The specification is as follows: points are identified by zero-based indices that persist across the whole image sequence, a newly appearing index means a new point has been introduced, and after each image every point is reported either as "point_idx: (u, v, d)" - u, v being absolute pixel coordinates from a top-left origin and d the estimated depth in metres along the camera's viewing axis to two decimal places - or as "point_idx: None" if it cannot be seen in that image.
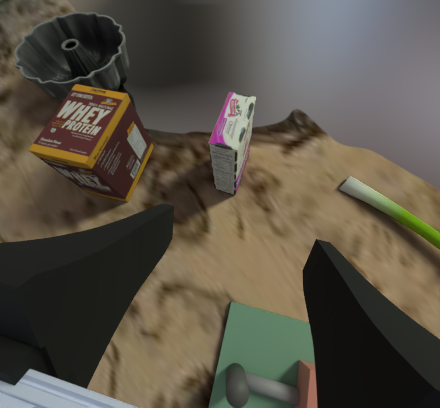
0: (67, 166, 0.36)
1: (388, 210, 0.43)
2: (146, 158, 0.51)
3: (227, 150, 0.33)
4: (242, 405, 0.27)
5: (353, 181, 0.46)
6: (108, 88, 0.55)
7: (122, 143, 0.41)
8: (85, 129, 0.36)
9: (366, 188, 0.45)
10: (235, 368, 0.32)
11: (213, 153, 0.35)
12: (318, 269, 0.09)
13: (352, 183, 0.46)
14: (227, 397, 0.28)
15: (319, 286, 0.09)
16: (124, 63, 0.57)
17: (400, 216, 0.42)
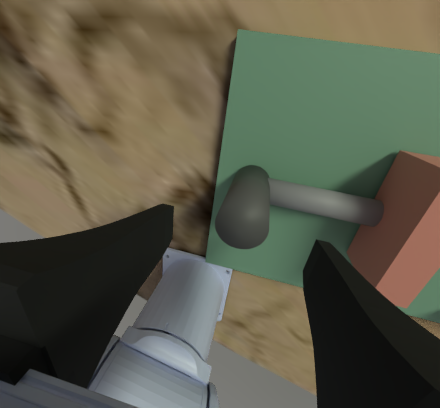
0: None
1: None
2: None
3: None
4: (253, 245, 0.12)
5: None
6: None
7: None
8: None
9: None
10: (246, 176, 0.15)
11: None
12: (318, 269, 0.09)
13: None
14: (219, 233, 0.13)
15: (319, 286, 0.09)
16: None
17: None
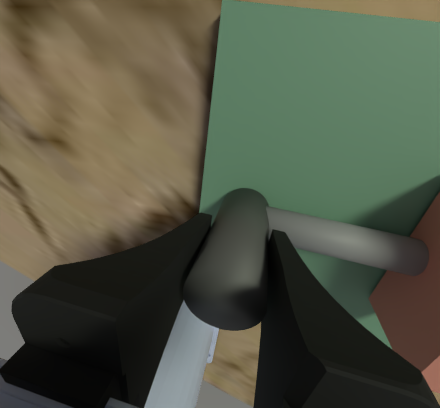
0: None
1: None
2: None
3: None
4: (242, 326, 0.08)
5: None
6: None
7: None
8: None
9: None
10: (235, 208, 0.11)
11: None
12: (269, 258, 0.10)
13: None
14: (191, 307, 0.08)
15: (269, 273, 0.09)
16: None
17: None
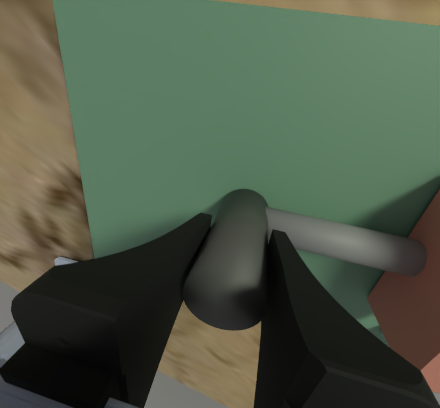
0: None
1: None
2: None
3: None
4: (241, 326, 0.08)
5: None
6: None
7: None
8: None
9: None
10: (235, 209, 0.11)
11: None
12: (270, 258, 0.10)
13: None
14: (191, 307, 0.08)
15: (269, 273, 0.09)
16: None
17: None
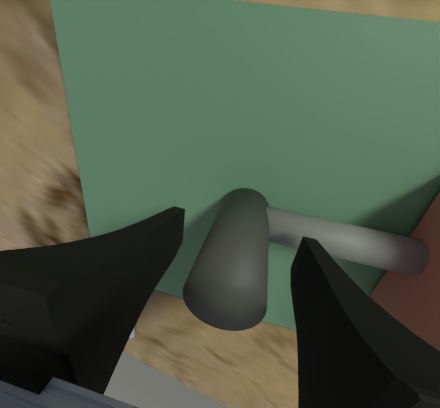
0: None
1: None
2: None
3: None
4: (242, 326, 0.08)
5: None
6: None
7: None
8: None
9: None
10: (235, 208, 0.11)
11: None
12: (303, 266, 0.09)
13: None
14: (191, 307, 0.08)
15: (303, 282, 0.09)
16: None
17: None
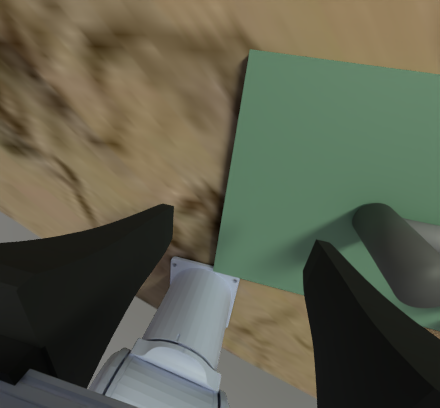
0: None
1: None
2: None
3: None
4: (434, 305, 0.12)
5: None
6: None
7: None
8: None
9: None
10: (393, 220, 0.14)
11: None
12: (318, 270, 0.09)
13: None
14: (397, 291, 0.12)
15: (319, 286, 0.09)
16: None
17: None
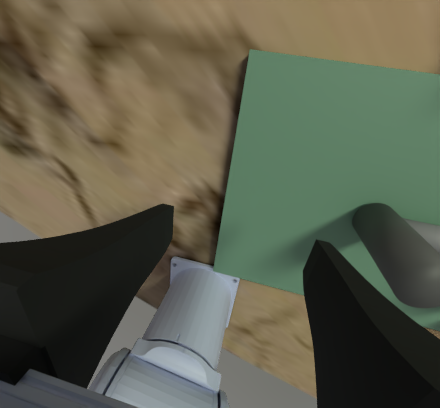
0: None
1: None
2: None
3: None
4: (434, 305, 0.12)
5: None
6: None
7: None
8: None
9: None
10: (393, 220, 0.14)
11: None
12: (318, 270, 0.09)
13: None
14: (397, 291, 0.12)
15: (319, 286, 0.09)
16: None
17: None
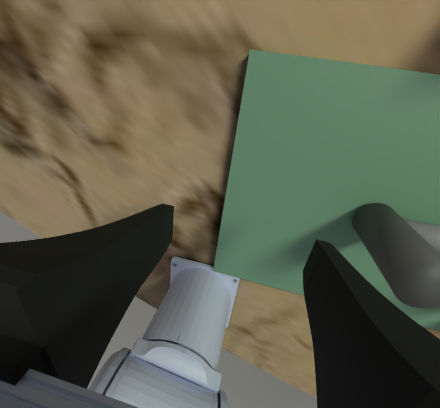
0: None
1: None
2: None
3: None
4: (434, 305, 0.12)
5: None
6: None
7: None
8: None
9: None
10: (393, 220, 0.14)
11: None
12: (318, 270, 0.09)
13: None
14: (397, 291, 0.12)
15: (319, 286, 0.09)
16: None
17: None
